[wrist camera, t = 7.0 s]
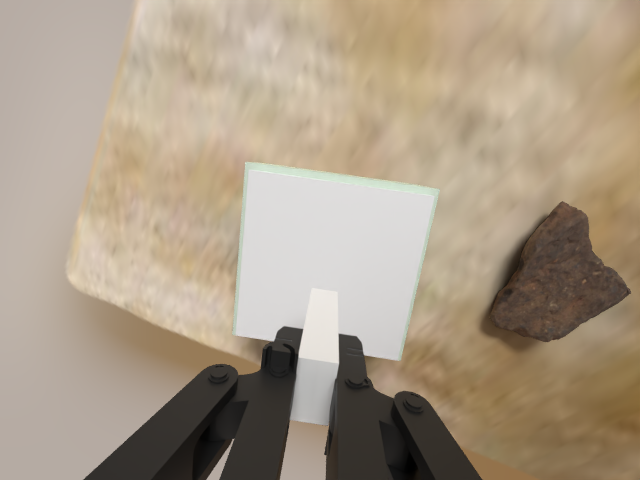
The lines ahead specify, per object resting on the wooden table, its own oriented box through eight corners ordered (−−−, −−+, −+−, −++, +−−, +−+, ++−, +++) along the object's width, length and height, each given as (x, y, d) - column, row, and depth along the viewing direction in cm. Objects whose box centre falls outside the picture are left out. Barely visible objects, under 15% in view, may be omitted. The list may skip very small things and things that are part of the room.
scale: (267, 163, 28) (242, 161, 21) (414, 184, 28) (443, 190, 21) (254, 307, 32) (228, 350, 24) (385, 327, 32) (400, 377, 24)
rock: (553, 198, 27) (586, 204, 24) (610, 280, 29) (648, 297, 26) (451, 272, 30) (467, 287, 26) (509, 344, 31) (532, 367, 28)
